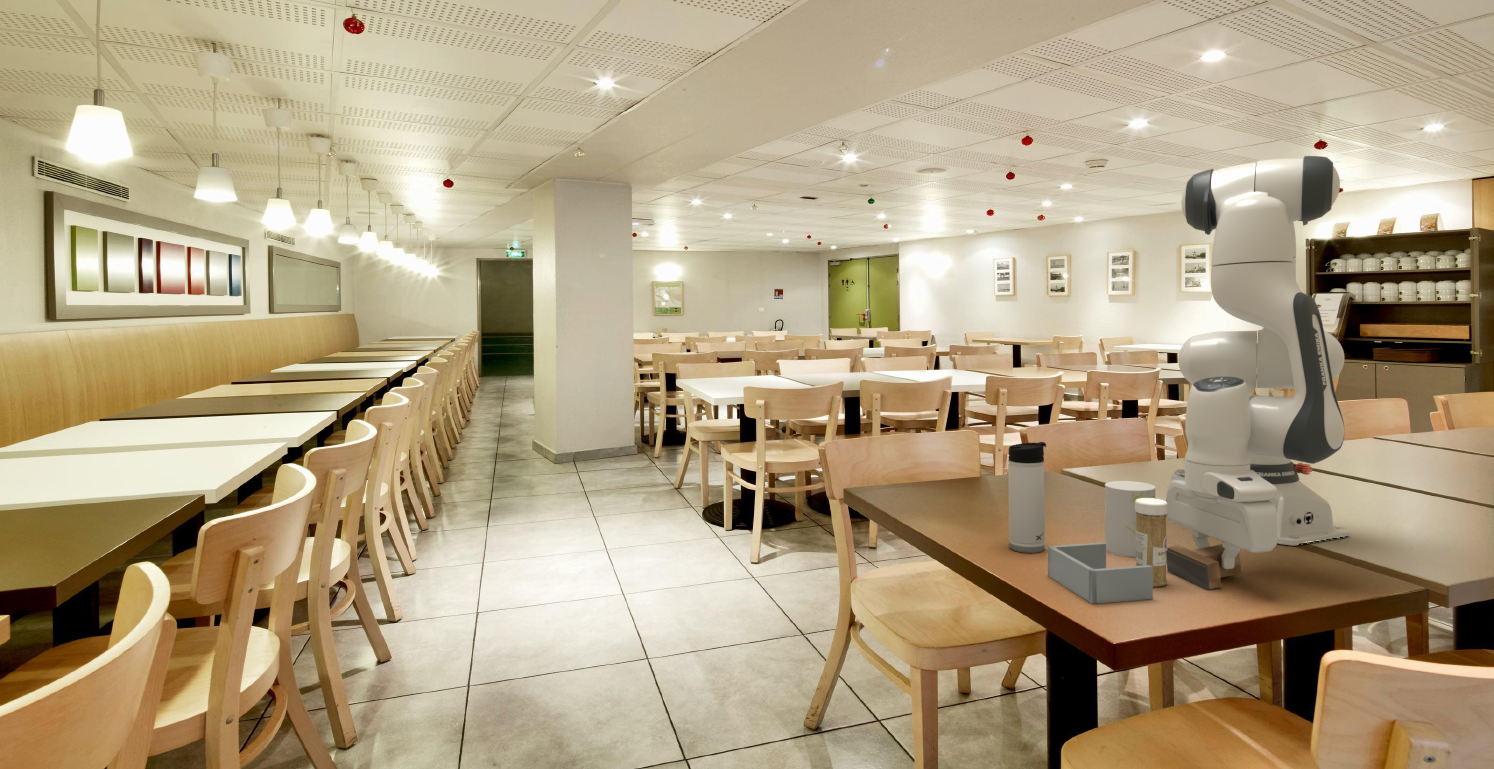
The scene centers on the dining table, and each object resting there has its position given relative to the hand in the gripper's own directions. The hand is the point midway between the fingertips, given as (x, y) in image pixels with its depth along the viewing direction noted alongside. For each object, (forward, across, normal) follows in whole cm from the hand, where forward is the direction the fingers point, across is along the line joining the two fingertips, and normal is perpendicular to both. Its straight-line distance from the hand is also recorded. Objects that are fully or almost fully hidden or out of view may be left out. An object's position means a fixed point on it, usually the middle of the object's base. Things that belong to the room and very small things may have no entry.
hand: (1215, 562), depth 119 cm
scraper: (+2, 0, -1) cm, 2 cm away
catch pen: (+2, 0, -20) cm, 20 cm away
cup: (+3, -16, -4) cm, 17 cm away
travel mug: (+3, -21, -21) cm, 30 cm away
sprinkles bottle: (+3, 0, -11) cm, 11 cm away
